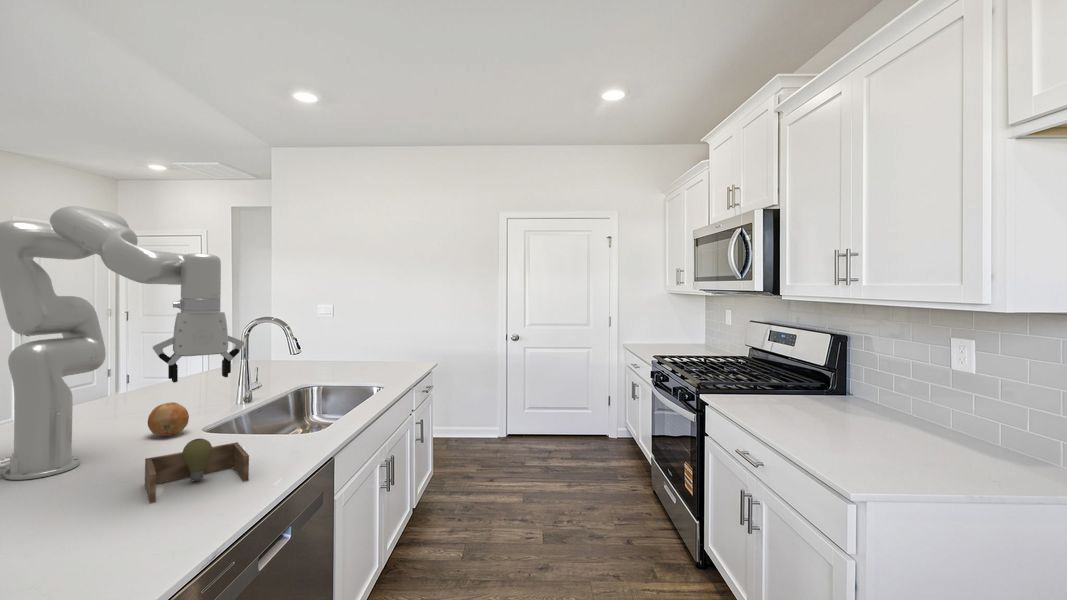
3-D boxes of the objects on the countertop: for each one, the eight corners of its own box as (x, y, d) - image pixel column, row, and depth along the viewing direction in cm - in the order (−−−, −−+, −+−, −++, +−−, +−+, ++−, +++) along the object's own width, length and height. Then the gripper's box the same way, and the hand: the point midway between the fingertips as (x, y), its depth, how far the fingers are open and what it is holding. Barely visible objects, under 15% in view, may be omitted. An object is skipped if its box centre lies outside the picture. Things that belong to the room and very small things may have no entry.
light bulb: (195, 487, 102) (196, 444, 102) (175, 484, 104) (176, 441, 103) (217, 477, 108) (218, 436, 108) (198, 475, 109) (199, 434, 109)
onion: (185, 428, 143) (186, 397, 143) (191, 436, 136) (192, 403, 136) (145, 434, 136) (146, 401, 136) (149, 443, 129) (150, 408, 129)
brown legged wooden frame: (149, 503, 94) (150, 475, 94) (144, 484, 103) (145, 458, 103) (248, 480, 107) (249, 455, 107) (236, 465, 116) (237, 442, 116)
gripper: (154, 307, 97) (154, 386, 97) (247, 306, 109) (247, 377, 109) (151, 306, 102) (150, 381, 102) (240, 305, 114) (239, 372, 114)
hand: (200, 379), depth 106 cm, fingers open, 9 cm apart
